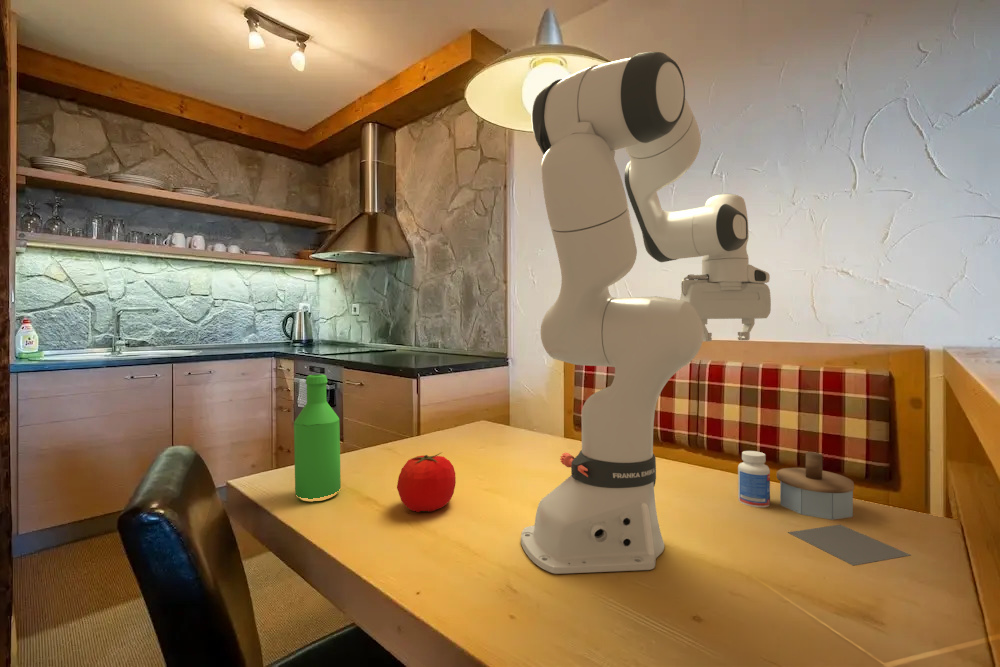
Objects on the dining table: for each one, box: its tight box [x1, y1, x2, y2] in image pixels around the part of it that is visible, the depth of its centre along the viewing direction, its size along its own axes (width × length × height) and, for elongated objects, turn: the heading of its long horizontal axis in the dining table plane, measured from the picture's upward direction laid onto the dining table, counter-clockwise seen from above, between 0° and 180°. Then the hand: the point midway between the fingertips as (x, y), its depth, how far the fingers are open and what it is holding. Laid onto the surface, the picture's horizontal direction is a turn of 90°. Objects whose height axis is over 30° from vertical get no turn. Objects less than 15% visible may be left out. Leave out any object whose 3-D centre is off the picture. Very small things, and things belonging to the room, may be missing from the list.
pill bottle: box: [737, 450, 771, 508], centre depth 91 cm, size 6×5×10 cm
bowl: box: [779, 480, 854, 521], centre depth 88 cm, size 11×11×5 cm
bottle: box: [293, 373, 342, 499], centre depth 97 cm, size 9×9×25 cm
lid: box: [776, 451, 855, 493], centre depth 88 cm, size 12×12×5 cm
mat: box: [787, 524, 912, 566], centre depth 73 cm, size 11×11×1 cm
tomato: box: [396, 452, 456, 513], centre depth 91 cm, size 11×13×10 cm
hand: (725, 340), depth 99 cm, fingers open, 8 cm apart
